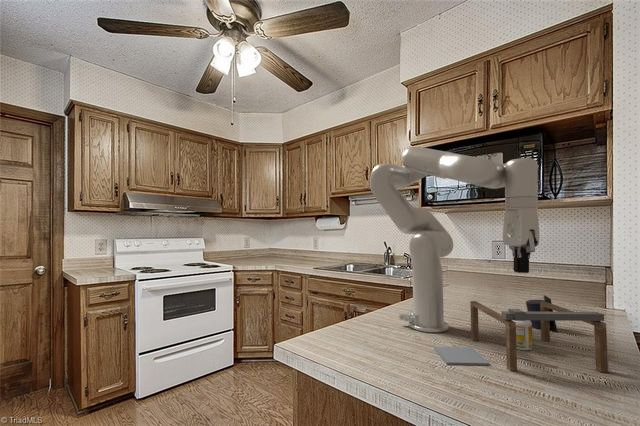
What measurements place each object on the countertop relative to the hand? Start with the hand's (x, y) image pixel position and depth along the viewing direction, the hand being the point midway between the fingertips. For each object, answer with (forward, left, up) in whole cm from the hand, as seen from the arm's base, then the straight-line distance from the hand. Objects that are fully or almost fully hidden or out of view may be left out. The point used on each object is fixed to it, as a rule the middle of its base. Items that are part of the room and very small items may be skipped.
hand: (521, 272), depth 87 cm
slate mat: (-19, -5, -21) cm, 28 cm away
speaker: (+16, +19, -21) cm, 33 cm away
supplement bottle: (0, +2, -21) cm, 21 cm away
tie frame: (0, -3, -21) cm, 21 cm away
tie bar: (0, -11, -9) cm, 15 cm away
